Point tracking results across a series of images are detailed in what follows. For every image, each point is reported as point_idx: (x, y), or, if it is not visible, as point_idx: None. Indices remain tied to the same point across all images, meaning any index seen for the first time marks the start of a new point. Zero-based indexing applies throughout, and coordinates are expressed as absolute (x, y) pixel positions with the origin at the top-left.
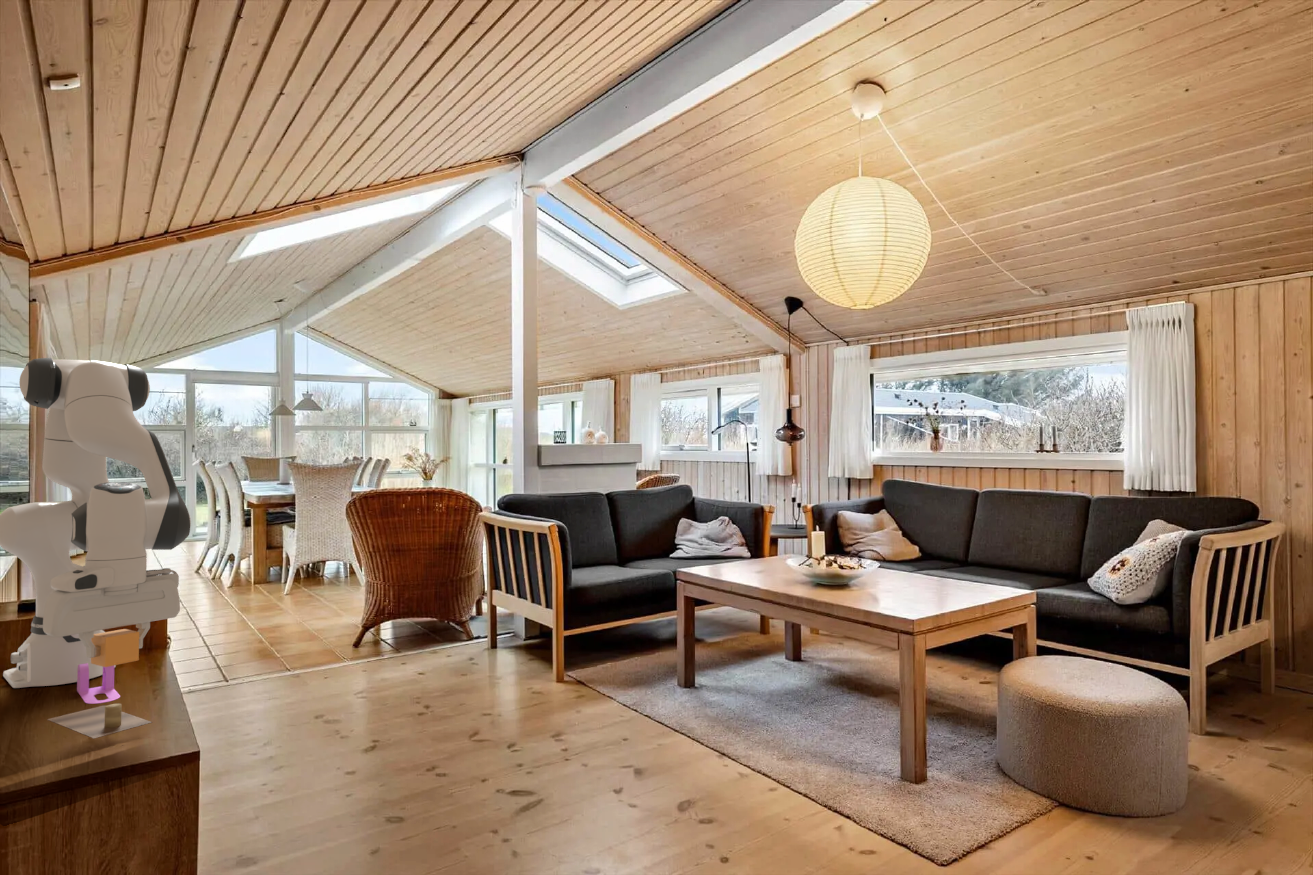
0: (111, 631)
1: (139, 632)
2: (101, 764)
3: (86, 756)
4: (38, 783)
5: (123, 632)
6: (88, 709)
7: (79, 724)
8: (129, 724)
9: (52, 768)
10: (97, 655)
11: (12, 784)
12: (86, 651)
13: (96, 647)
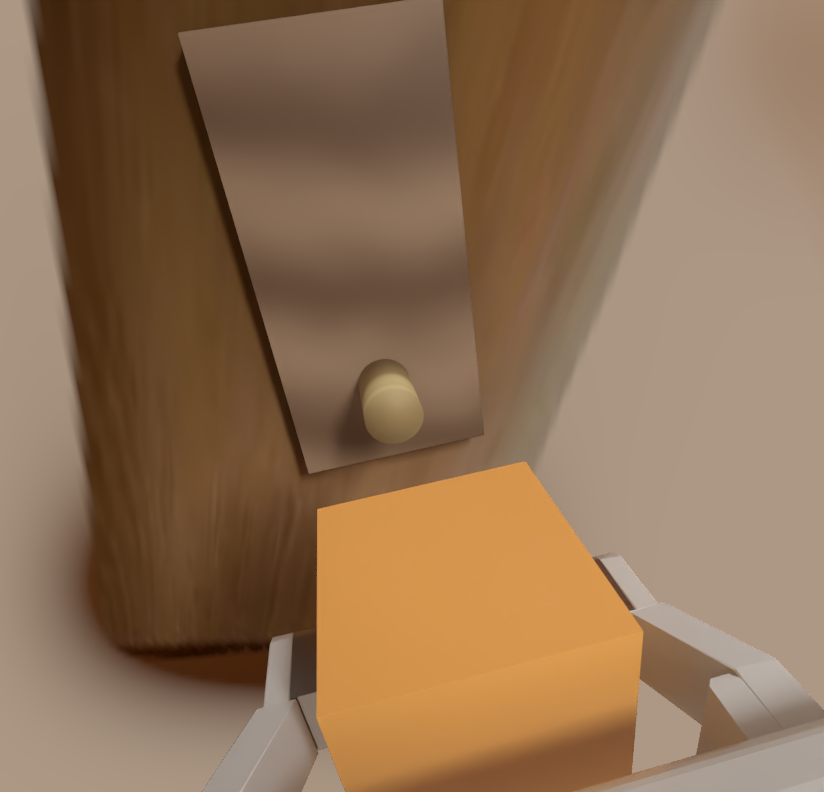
0: (507, 684)
1: (680, 671)
2: (299, 606)
3: (278, 533)
4: (161, 639)
5: (551, 773)
6: (367, 15)
7: (294, 267)
8: (427, 407)
9: (193, 566)
10: None
11: (103, 614)
12: (268, 669)
13: (325, 744)
